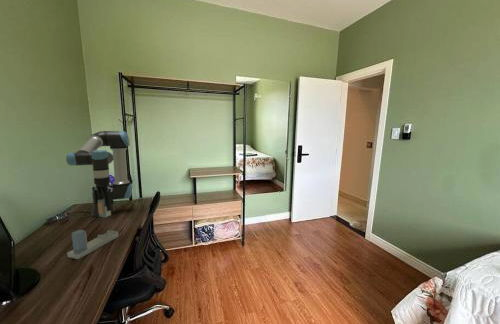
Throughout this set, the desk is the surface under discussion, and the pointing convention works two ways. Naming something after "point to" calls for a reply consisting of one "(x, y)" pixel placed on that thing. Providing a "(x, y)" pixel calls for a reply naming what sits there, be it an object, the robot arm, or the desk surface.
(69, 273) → the desk surface
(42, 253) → the desk surface
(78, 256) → the rail
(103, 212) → the grey orange block
